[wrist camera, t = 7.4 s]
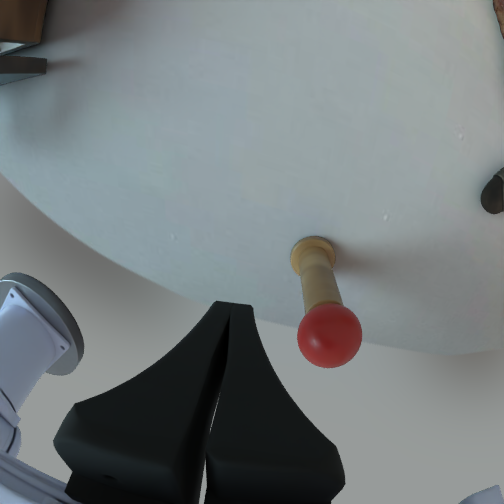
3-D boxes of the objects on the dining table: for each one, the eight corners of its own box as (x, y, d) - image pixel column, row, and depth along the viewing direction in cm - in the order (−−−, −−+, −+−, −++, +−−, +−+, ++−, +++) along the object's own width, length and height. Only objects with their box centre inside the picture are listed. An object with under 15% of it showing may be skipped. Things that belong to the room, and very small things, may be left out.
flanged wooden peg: (307, 283, 22) (317, 348, 16) (281, 253, 22) (283, 313, 15) (342, 259, 21) (365, 319, 15) (317, 227, 21) (334, 279, 14)
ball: (317, 348, 16) (323, 389, 14) (283, 313, 15) (284, 355, 13) (365, 319, 15) (379, 359, 13) (334, 279, 14) (346, 318, 12)
